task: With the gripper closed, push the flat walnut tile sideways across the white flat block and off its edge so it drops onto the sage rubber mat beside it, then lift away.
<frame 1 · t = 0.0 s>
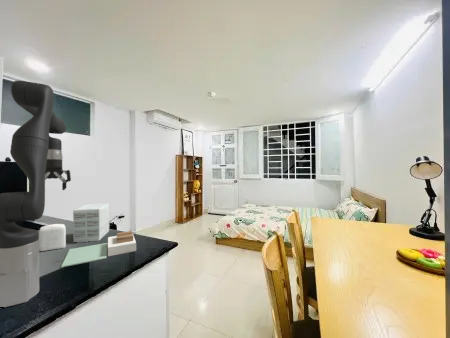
hand: (53, 190, 101), 29 cm above the table, fingers open, 8 cm apart
white flat block: (121, 247, 101), on the table
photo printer: (53, 249, 100), on the table
supplement box: (92, 237, 117), on the table
walnut tile: (124, 236, 102), point 5 cm above the table, touching white flat block
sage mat: (87, 253, 94), on the table
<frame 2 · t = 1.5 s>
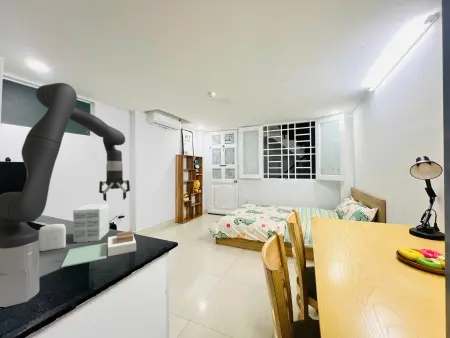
hand: (115, 200, 106), 24 cm above the table, fingers open, 8 cm apart
nothing on the table moved.
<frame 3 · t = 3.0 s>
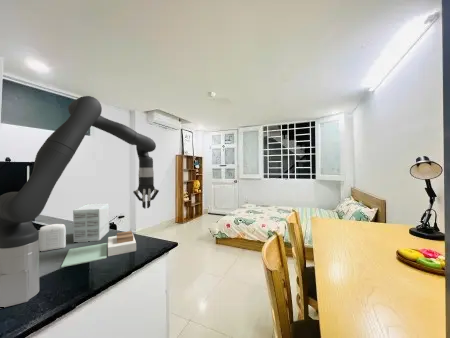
hand: (146, 208, 107), 19 cm above the table, fingers closed
nothing on the table moved.
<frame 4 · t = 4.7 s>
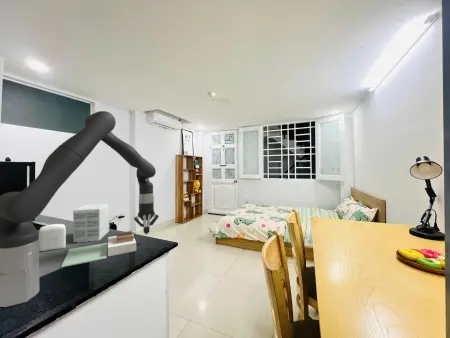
hand: (146, 233, 107), 5 cm above the table, fingers closed
nothing on the table moved.
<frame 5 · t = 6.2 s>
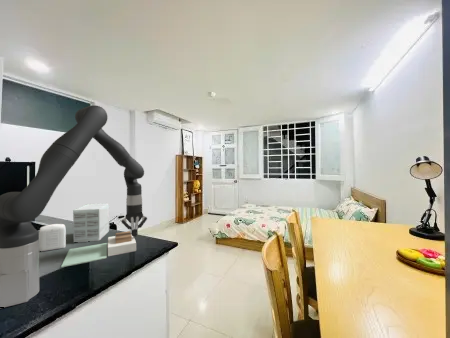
hand: (134, 236, 104), 5 cm above the table, fingers closed
walnut tile: (123, 237, 102), point 5 cm above the table, touching white flat block, gripper
everything else where it was.
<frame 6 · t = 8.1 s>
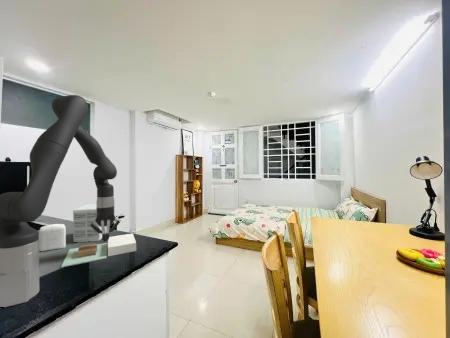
hand: (105, 240, 97), 5 cm above the table, fingers closed
walnut tile: (87, 250, 94), point 2 cm above the table, tilted 180°, touching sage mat
everything else where it was.
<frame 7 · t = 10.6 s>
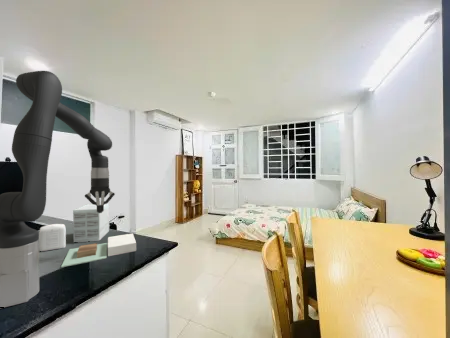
hand: (100, 212, 96), 19 cm above the table, fingers closed
nothing on the table moved.
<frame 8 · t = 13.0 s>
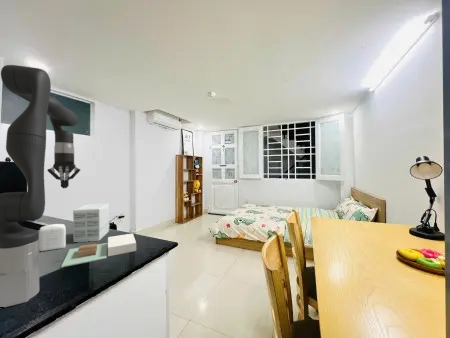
hand: (64, 188, 97), 31 cm above the table, fingers closed
nothing on the table moved.
at the end: walnut tile point 1.6 cm above the table; walnut tile inside the target area (0.3 cm from its centre), point 1.6 cm above the table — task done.
